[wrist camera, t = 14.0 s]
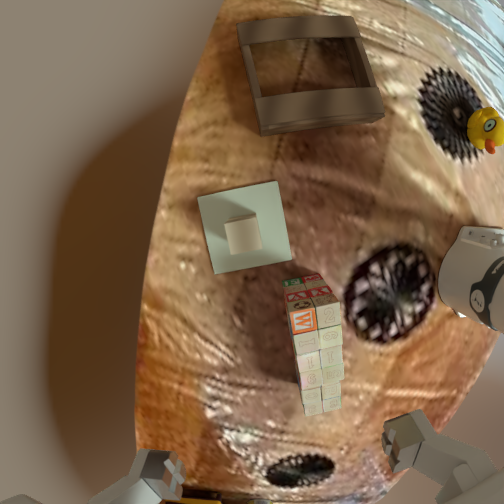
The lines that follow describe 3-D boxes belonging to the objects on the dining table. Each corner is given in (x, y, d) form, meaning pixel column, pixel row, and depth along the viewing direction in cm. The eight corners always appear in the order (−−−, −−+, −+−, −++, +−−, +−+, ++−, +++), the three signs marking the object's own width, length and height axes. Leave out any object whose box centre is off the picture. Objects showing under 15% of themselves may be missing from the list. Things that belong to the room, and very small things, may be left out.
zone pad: (277, 180, 41) (277, 180, 41) (291, 258, 44) (291, 259, 43) (197, 197, 42) (197, 197, 41) (215, 273, 44) (214, 274, 44)
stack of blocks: (329, 377, 49) (345, 421, 37) (297, 384, 49) (306, 429, 37) (319, 272, 44) (340, 301, 32) (280, 279, 45) (289, 312, 33)
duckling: (471, 164, 40) (506, 163, 30) (454, 145, 39) (489, 141, 29) (485, 122, 37) (518, 116, 28) (469, 104, 37) (501, 94, 27)
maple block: (256, 212, 42) (256, 217, 35) (261, 238, 43) (262, 248, 36) (229, 218, 42) (224, 223, 35) (234, 244, 43) (231, 254, 36)
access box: (343, 29, 35) (351, 14, 30) (372, 122, 39) (386, 115, 34) (238, 38, 36) (236, 22, 31) (260, 136, 40) (261, 129, 35)
